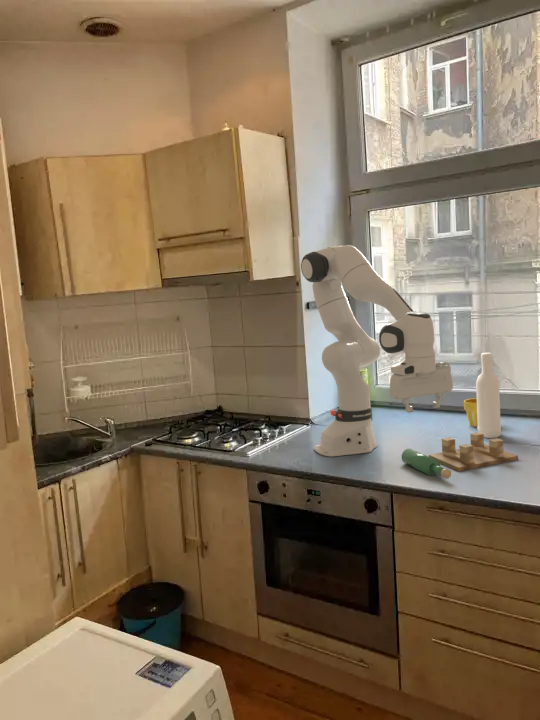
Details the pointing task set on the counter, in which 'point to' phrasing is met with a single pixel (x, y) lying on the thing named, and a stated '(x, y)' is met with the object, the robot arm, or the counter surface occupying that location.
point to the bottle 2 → (488, 399)
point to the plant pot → (471, 411)
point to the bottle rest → (472, 453)
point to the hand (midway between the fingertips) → (422, 409)
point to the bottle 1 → (424, 463)
